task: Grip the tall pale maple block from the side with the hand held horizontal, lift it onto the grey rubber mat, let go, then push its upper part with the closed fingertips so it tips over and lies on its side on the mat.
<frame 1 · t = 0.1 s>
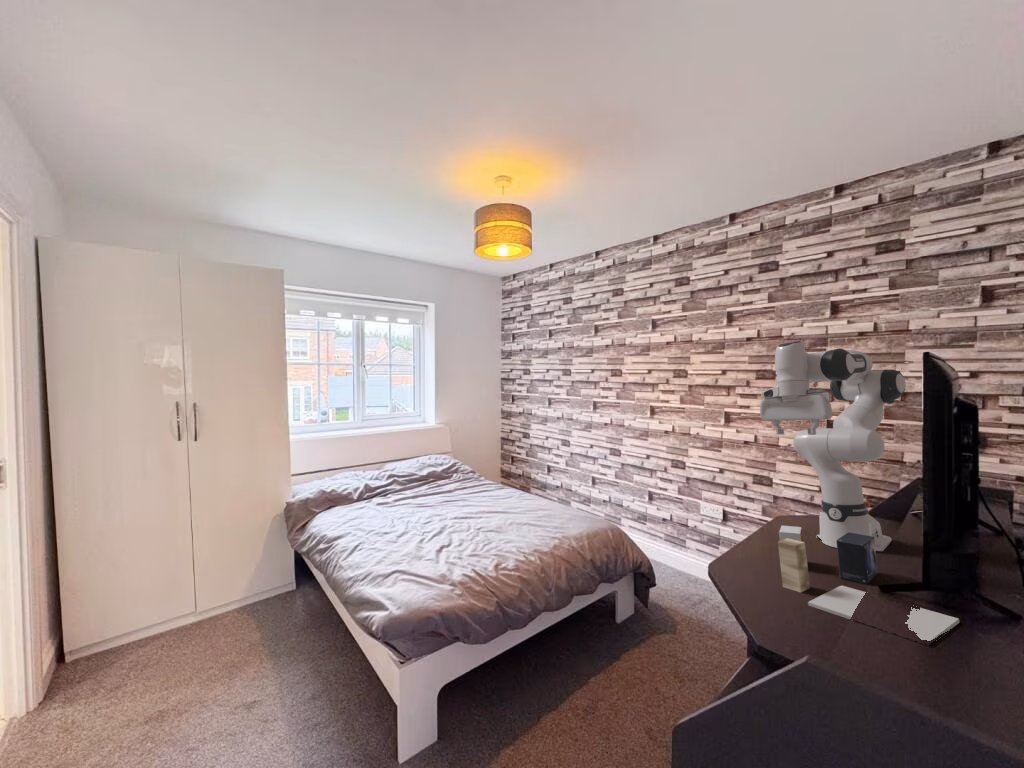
hand: (795, 434, 133), 39 cm above the table, tool pointing down, fingers open, 8 cm apart
maple block: (796, 587, 112), on the table
small box: (794, 564, 128), on the table
small box 2: (859, 577, 116), on the table
rubber mat: (879, 613, 97), on the table
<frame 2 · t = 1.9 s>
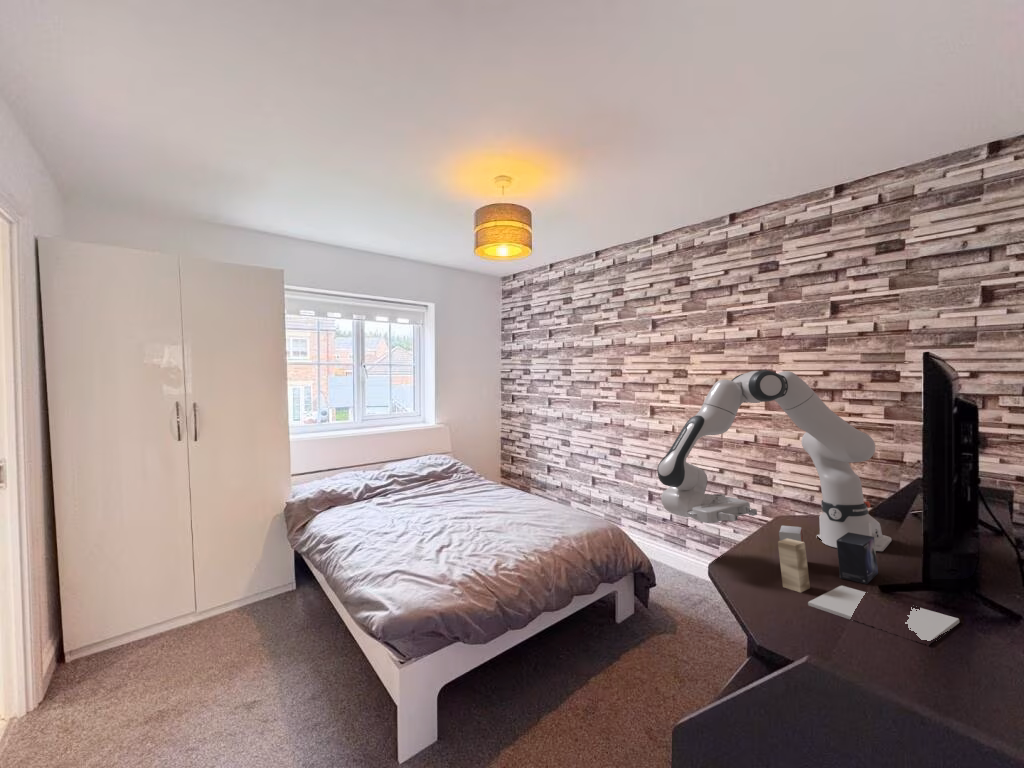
hand: (746, 515, 124), 17 cm above the table, tool horizontal, fingers open, 8 cm apart
nothing on the table moved.
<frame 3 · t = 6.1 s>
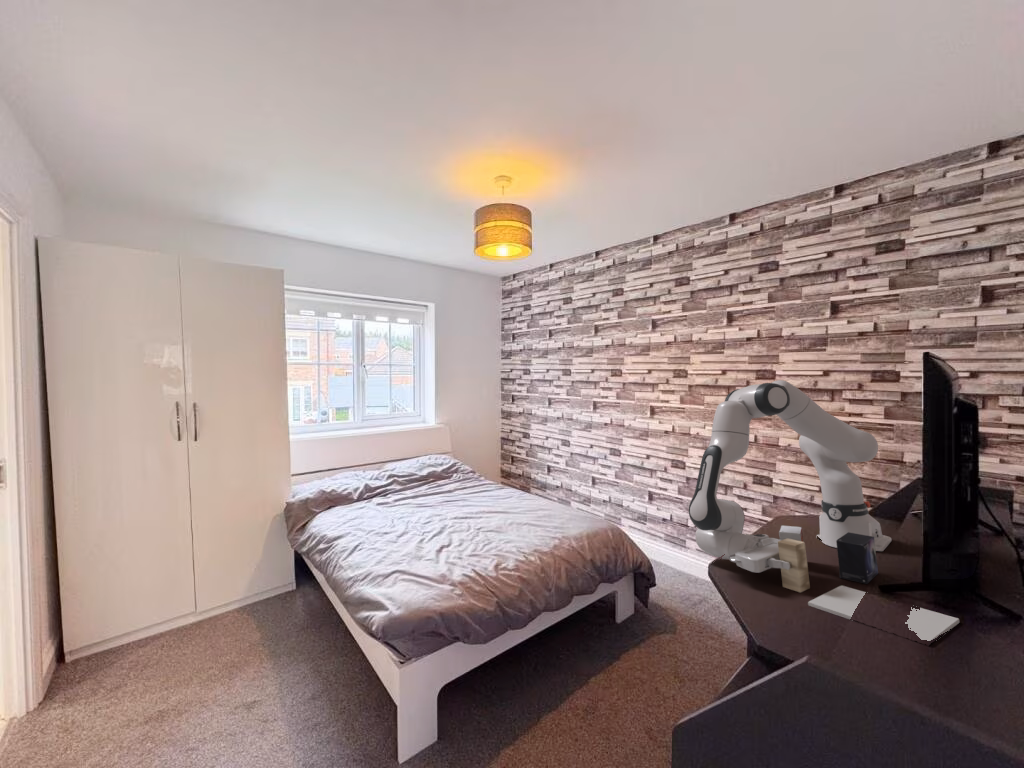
hand: (797, 563, 112), 7 cm above the table, tool horizontal, fingers closed on maple block, 4 cm apart
maple block: (796, 587, 112), on the table, touching gripper
everything else where it was.
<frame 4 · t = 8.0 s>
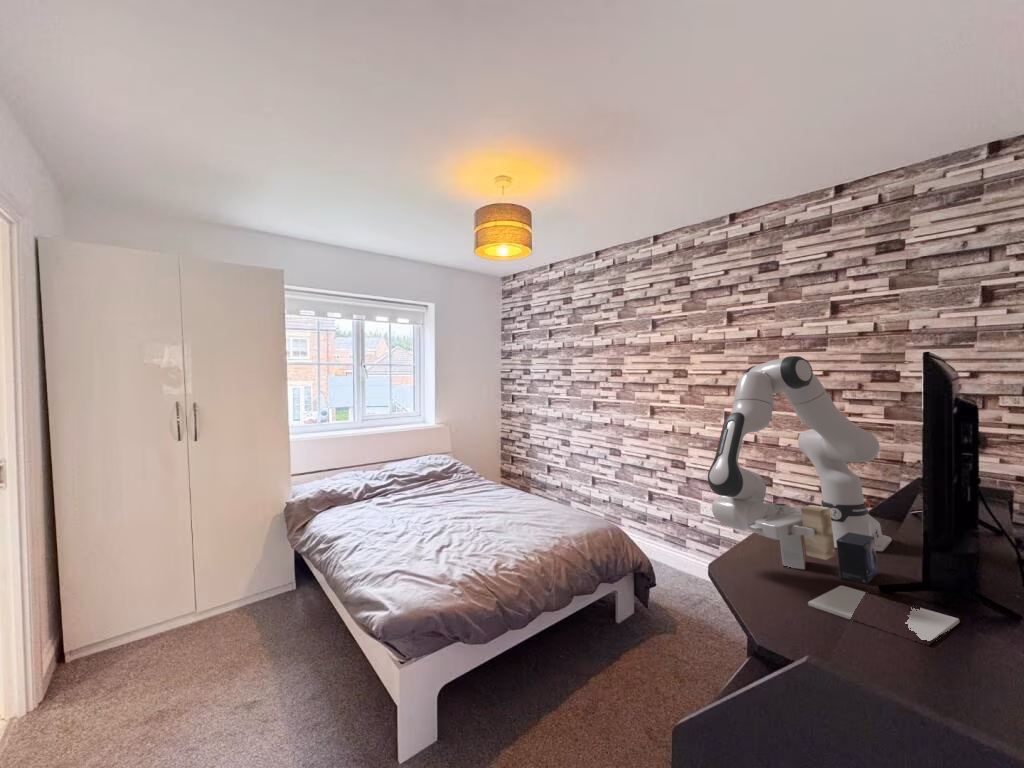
hand: (821, 530, 106), 17 cm above the table, tool horizontal, fingers closed on maple block, 4 cm apart
maple block: (820, 555, 107), point 10 cm above the table, touching gripper
everything else where it was.
when the fingers open (9 cm above the table, at t = 10.3 s): maple block drops 1 cm, resting on rubber mat.
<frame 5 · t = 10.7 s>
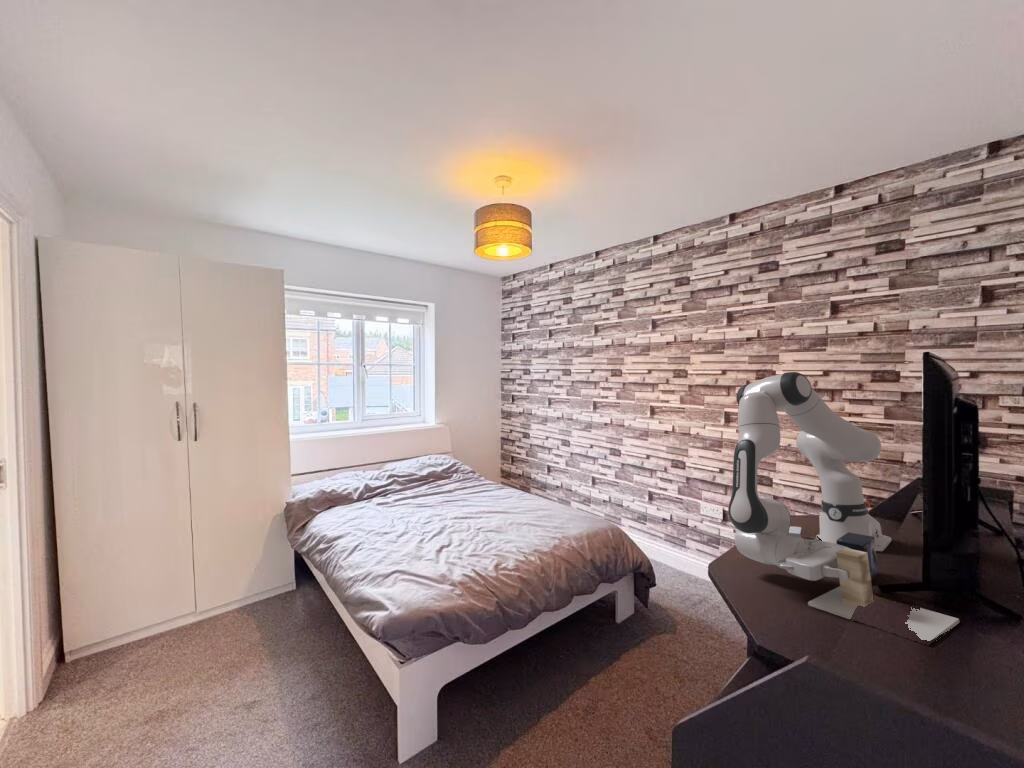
hand: (858, 570, 100), 9 cm above the table, tool horizontal, fingers open, 8 cm apart
maple block: (858, 603, 100), point 1 cm above the table, touching rubber mat
everything else where it was.
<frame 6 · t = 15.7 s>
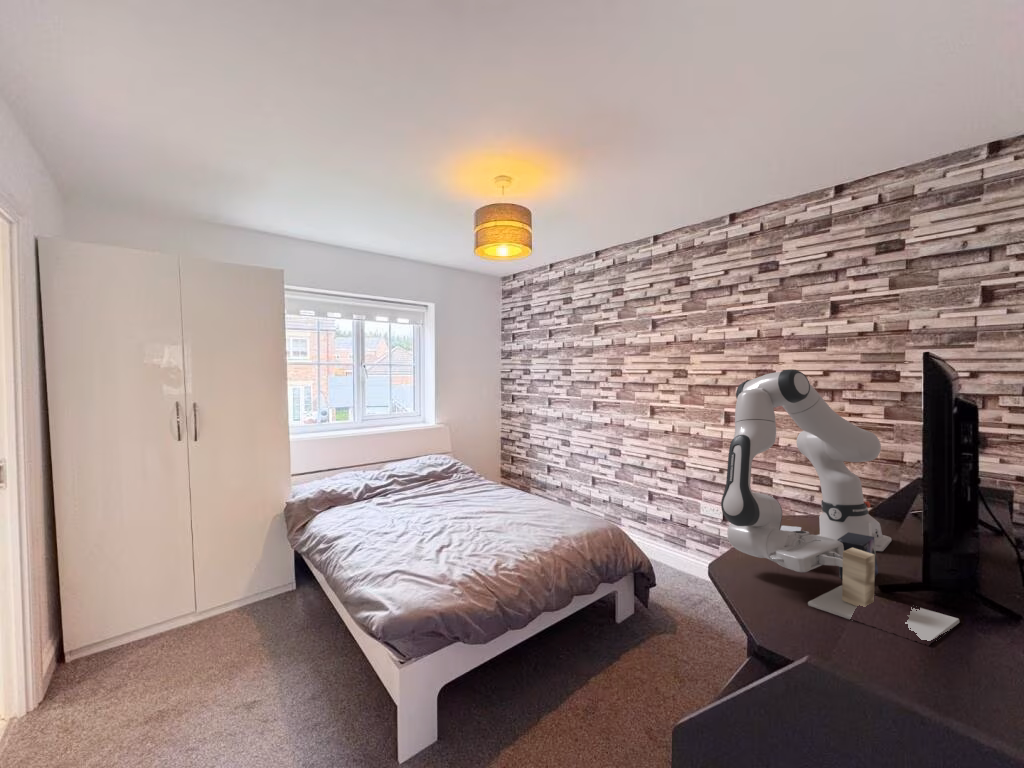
hand: (846, 562, 102), 10 cm above the table, tool horizontal, fingers closed, pressing on maple block
maple block: (857, 602, 100), point 1 cm above the table, tilted 7°, touching gripper, rubber mat
everything else where it was.
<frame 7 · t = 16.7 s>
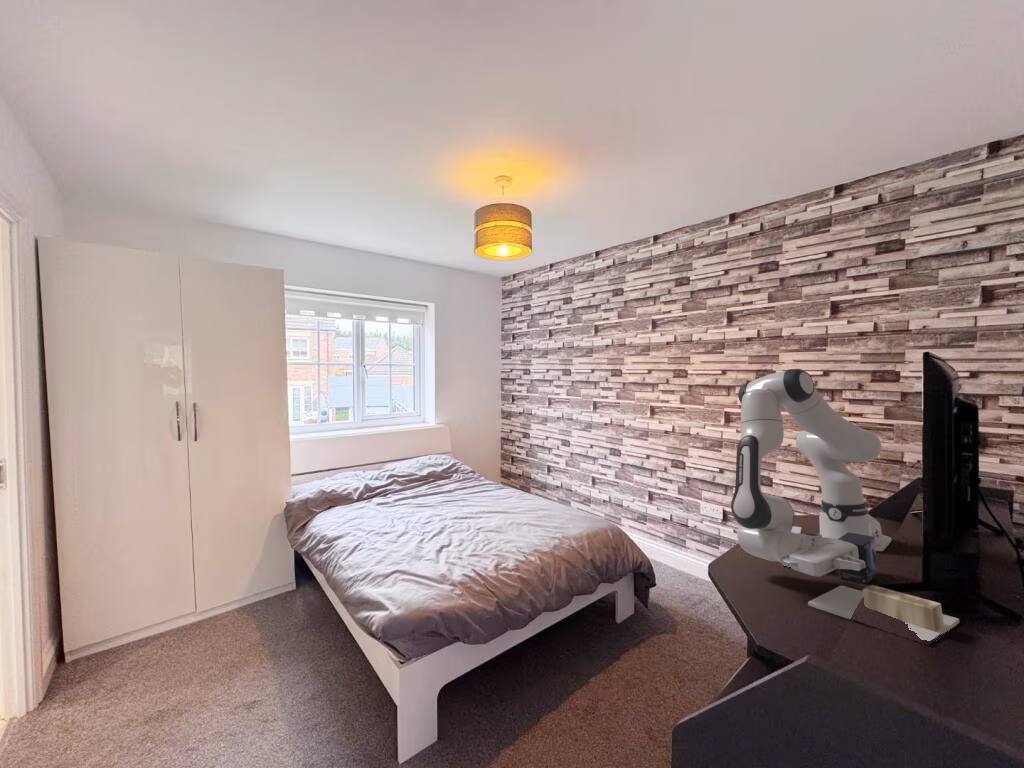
hand: (862, 566, 99), 10 cm above the table, tool horizontal, fingers closed
maple block: (868, 597, 98), point 3 cm above the table, tilted 90°, touching rubber mat
everything else where it was.
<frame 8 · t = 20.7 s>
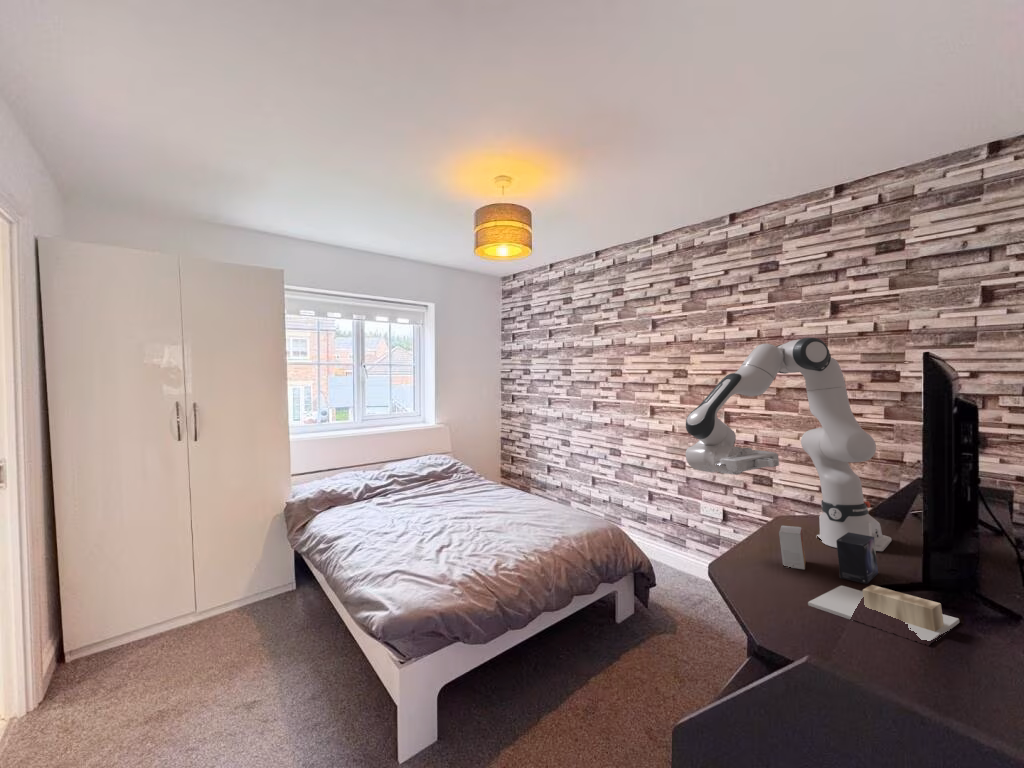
hand: (776, 463, 122), 32 cm above the table, tool horizontal, fingers closed
nothing on the table moved.
at the end: maple block tilted 90°; maple block inside the target area (5.7 cm from its centre), point 3.0 cm above the table; the gripper is holding nothing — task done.
